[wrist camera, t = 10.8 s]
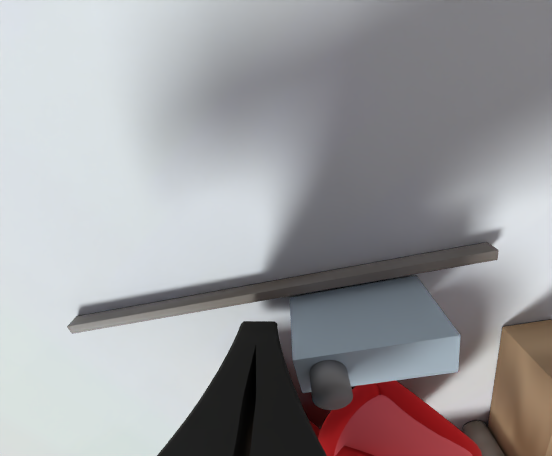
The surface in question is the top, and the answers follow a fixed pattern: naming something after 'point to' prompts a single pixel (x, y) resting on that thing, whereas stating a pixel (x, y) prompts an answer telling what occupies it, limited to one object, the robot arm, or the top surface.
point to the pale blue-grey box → (369, 338)
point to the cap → (390, 426)
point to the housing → (514, 339)
